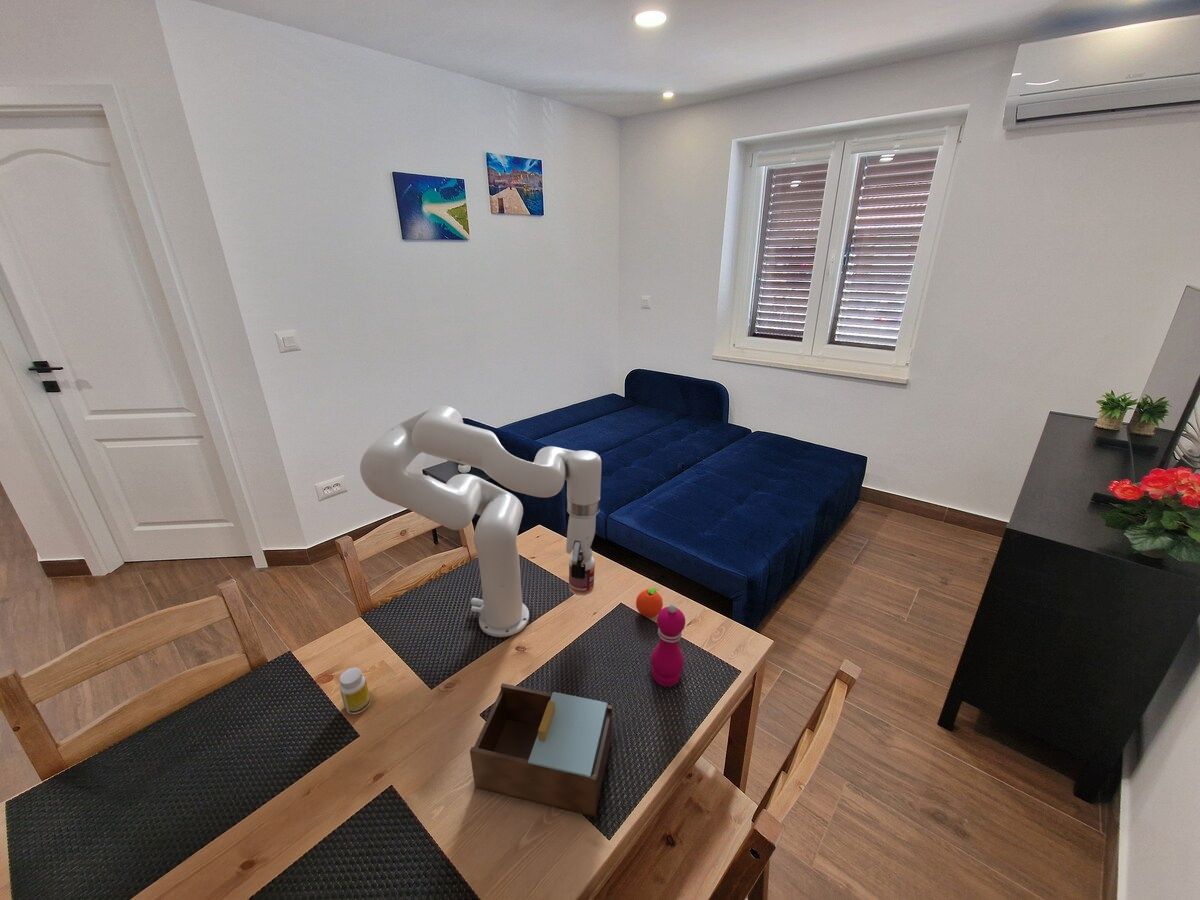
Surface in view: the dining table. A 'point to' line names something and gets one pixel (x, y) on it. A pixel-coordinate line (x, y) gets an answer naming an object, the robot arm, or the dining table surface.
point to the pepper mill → (668, 647)
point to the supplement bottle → (354, 691)
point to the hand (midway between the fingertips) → (581, 568)
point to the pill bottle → (587, 583)
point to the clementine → (649, 602)
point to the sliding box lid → (569, 734)
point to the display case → (510, 747)
